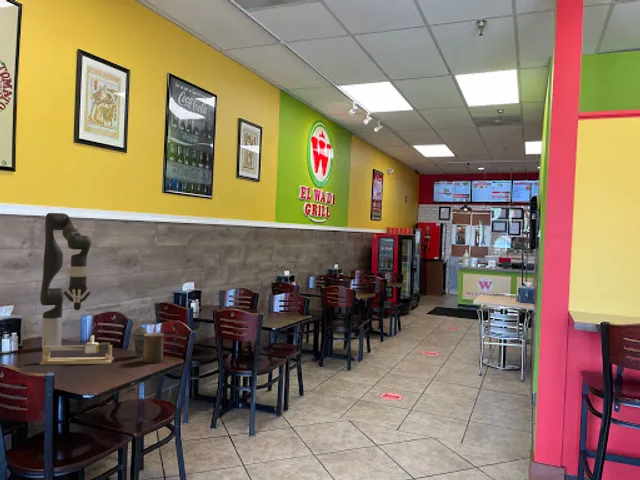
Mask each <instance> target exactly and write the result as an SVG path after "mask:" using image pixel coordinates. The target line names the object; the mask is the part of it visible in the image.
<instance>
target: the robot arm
mask: <svg viewBox="0 0 640 480" xmlns="http://www.w3.org/2000/svg"><path fill="white" fill-rule="evenodd" d="M44 225H45V227H44V235H45V236H44V237H45V238H44V240H45V241H44V252H43V253H44V254H43V264H42V265H43V266H42V267H43V268H42V270H43V272H42V282H41V287H40V294H39V295H40V300H39V301H40V304H41V305H42V306H54V307H52V308H51V309H49V310H47V311H45V312H43V313H42V330H41V331H42V336H41V339H42V340H41V350H42V351H43V346H62V328H63V327H62V325H63V324H62V323H63V322H62V321H63V318H62V317H63V304H64V295H65V297H66V298H67V299H68V301H70V302H72V303H73V309H74V311H80V309H81V308H82V303H83V302H85V301H86V300H87V298H88V297H89V296H91V294H92V293H93V292H92V291H90V290H89V289H88V287H87V276H88V275H87V273H88V270H87V259H88V254H89V251H90V248H91V246H92V239H91V237H90V236H88V235H82V234H81V232H80V231H79V230H78V229H77V228H75V226H74V223H73V221H72V220H71V218H70V216H69V215H68V214H66V213H63V212H61V213H60V212H48V213H46V215H45V223H44ZM54 231H61V232H62V233H61V234H62V236H63V237H64V239H65V240H66V243H67V247H68V248H69V249H70V250H76V251H77V250H80V252H79V253H74V254H72V255H71V257H70V269H69V285H68V289H67V290H65V291H63V289H62V288H61V287H60V288H59V287H55V288H54V287H53V288H50V285H51V283H52V281H53V279H54V278H55V277H56V275H57V274H58V273H59V271H60V270H61V269H62V267H63V263H64V252H63V251H62V249H61V247H60V246H59V245H58V242H57V240H56V239H55V235H54V234H55V233H54ZM84 294H85V295H84ZM83 295H84V296H83Z"/></svg>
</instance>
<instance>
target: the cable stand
mask: <svg viewBox="0 0 640 480" xmlns="http://www.w3.org/2000/svg"><path fill="white" fill-rule="evenodd" d="M51 351H53V352H54V351H55V352H57V351H58V352H59V351H60V352H61V351H85V345H61V346H43V350H42V358H41V359H42V360H41V361H39V365H92V364H97V365H102V364H109V363H110V364H111V363H112V361H114V357H113V344H111V342H108V341H107V342H102V341H101V342H100V343H99V344H97V345H96V352H97V353H98V354H105V356H97V357H96V356H95V357H94V356H93V357H51Z"/></svg>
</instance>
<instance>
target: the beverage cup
mask: <svg viewBox="0 0 640 480" xmlns="http://www.w3.org/2000/svg"><path fill="white" fill-rule="evenodd" d="M147 333H148V329H146V328H145V327H144V326H141V319H140V318H138V327H137V328H136V329H135V330H134V331H133V339H134V341H133V342H134V353H135V358H143V347H144V334H147Z"/></svg>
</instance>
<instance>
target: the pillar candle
mask: <svg viewBox="0 0 640 480" xmlns="http://www.w3.org/2000/svg"><path fill="white" fill-rule="evenodd" d="M161 361H162V362H163V361H164V333H162V332H149V333H147V334H144V347H143V357H142V362H143V363H145V364H146V363H147V364H157V362H158V363H161Z"/></svg>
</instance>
